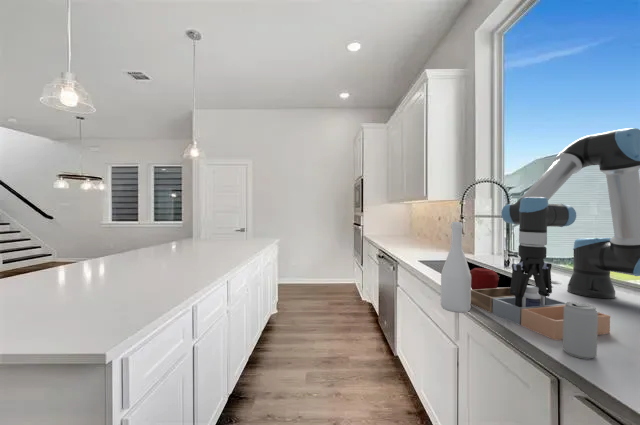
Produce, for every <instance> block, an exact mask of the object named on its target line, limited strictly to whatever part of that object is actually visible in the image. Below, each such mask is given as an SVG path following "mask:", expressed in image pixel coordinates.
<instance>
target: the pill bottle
mask: <svg viewBox="0 0 640 425" xmlns="http://www.w3.org/2000/svg"><path fill="white" fill-rule="evenodd" d="M538 291H539V288H538V287H536V285H528V284H527V287H526V291H525V294H524V297H525V298H526V307H531V306H541V296H540V295H539V294H538Z"/></svg>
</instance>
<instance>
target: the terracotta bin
mask: <svg viewBox="0 0 640 425" xmlns="http://www.w3.org/2000/svg"><path fill="white" fill-rule="evenodd" d="M565 306H566V305H561V306H549V307H538V308H526V309H521V325H520V326H522V327H524V328H525V329H529V330H531V331H533V332H535V333H538V334H540V335H542V336H545V337H548V338H550V339H552V340H554V341H558V340H563V316H564V307H565ZM597 313H598V328H597V336H599V335H600V336H601V335H606V334H607V335H608V334H610V333H611V315H609V314H605V313H603V312H598V311H597Z"/></svg>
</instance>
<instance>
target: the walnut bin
mask: <svg viewBox="0 0 640 425" xmlns="http://www.w3.org/2000/svg"><path fill="white" fill-rule="evenodd" d="M519 293H520V292H519ZM505 297H515V295H513V294H510V287H509V286H508V287H497V288H491V289H475V290H472V289H471V305H472V306H474V307H476V308H478V309H481V310H483V311H486V312H488V313H490V314H493V298H505Z"/></svg>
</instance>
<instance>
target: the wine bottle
mask: <svg viewBox="0 0 640 425" xmlns="http://www.w3.org/2000/svg"><path fill="white" fill-rule="evenodd" d="M450 228H451V239H450V240H451V242H450V248H449V251H448V254H447V256H446V259H445V262H444V265H443V268H442V270H441V274H440V306H441V308H442V309H443V310H445V311H447V312H450V313H458V314H459V313H460V314H462V313H463V314H465V313H468V312H470V310H471V305H472V304H471V290H472V288H471V273H470V271H471V270H470V267H469V264H468V261H467V258H466V255H465V252H464V247H463V228H464V224H463V221H462V222H461V221H451V224H450Z"/></svg>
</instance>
